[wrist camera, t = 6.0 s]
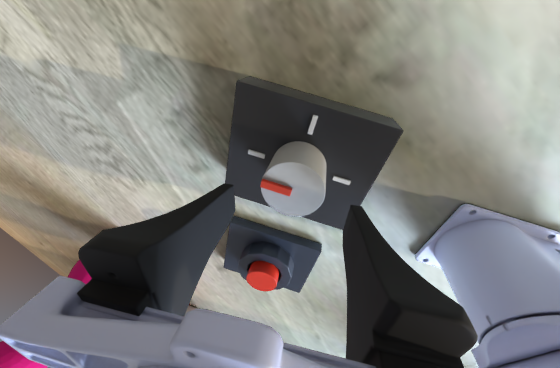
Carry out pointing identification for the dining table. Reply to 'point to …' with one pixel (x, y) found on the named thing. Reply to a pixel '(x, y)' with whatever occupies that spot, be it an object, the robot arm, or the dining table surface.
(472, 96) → the dining table surface
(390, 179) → the dining table surface
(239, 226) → the button block
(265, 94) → the panel
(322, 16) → the dining table surface
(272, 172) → the timer knob
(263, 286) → the power button
